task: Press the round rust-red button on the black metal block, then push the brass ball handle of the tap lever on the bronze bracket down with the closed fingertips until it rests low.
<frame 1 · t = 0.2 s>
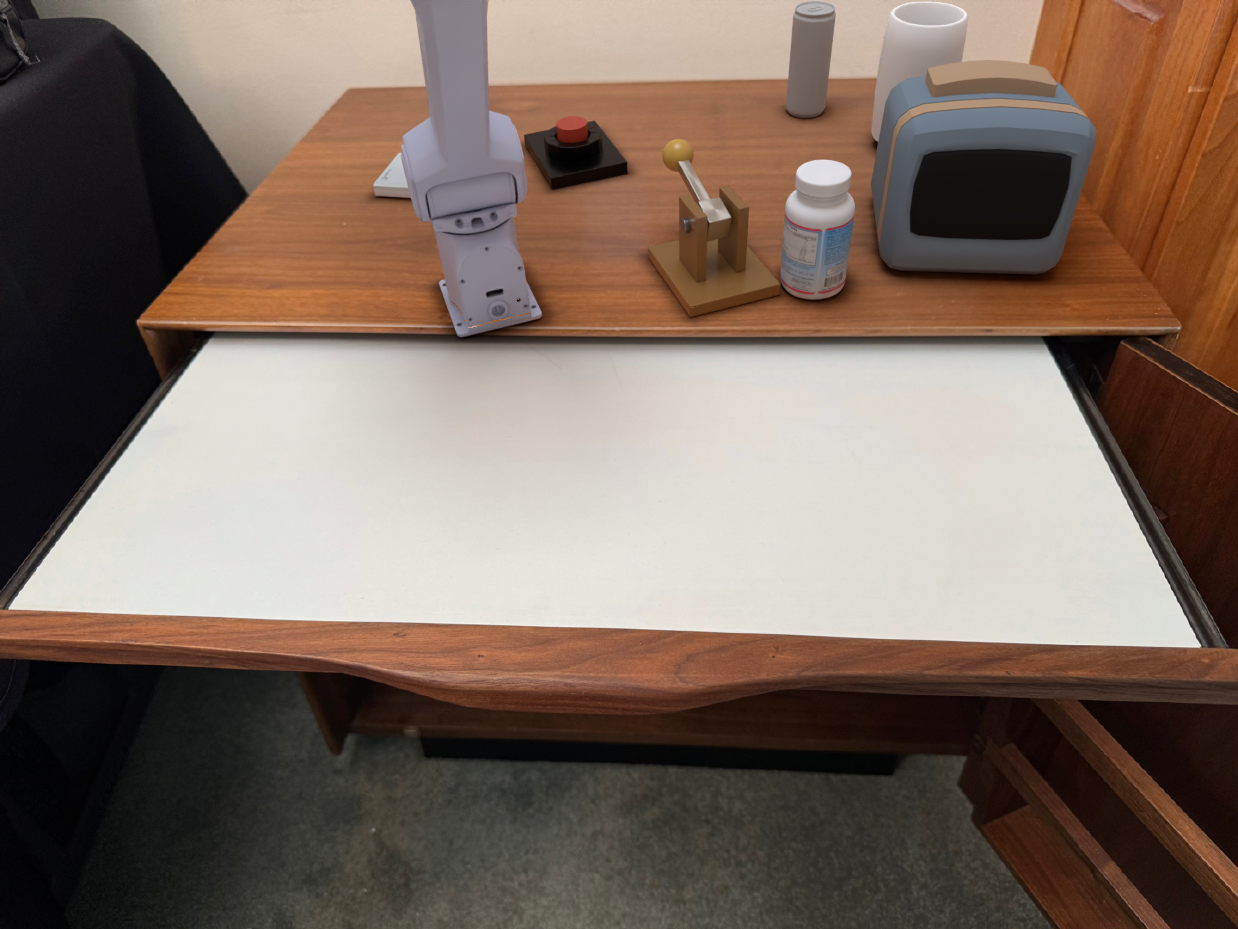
button: (572, 129, 101), point 4 cm above the table, slide at 0.1 cm
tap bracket: (711, 275, 85), on the table
beverage can: (805, 112, 109), on the table
hard drive: (439, 184, 101), on the table
pill bottle: (811, 285, 83), on the table
tap lever: (694, 186, 83), point 7 cm above the table, hinge at 15.0°
button block: (574, 159, 103), on the table
cup: (904, 146, 102), on the table
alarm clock: (955, 236, 88), on the table
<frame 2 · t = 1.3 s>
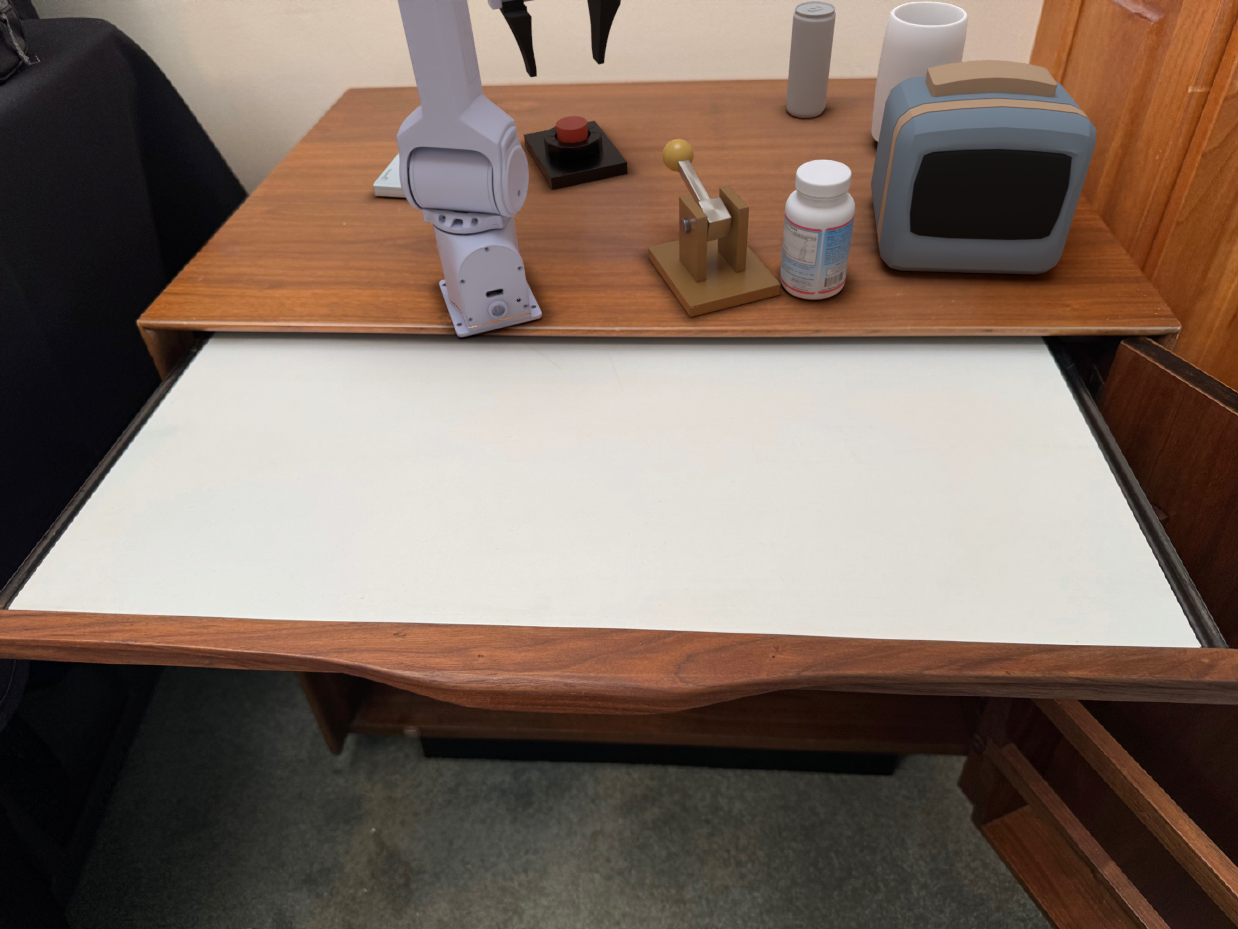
hand: (565, 67, 96), 11 cm above the table, tool pointing down, fingers open, 7 cm apart
nothing on the table moved.
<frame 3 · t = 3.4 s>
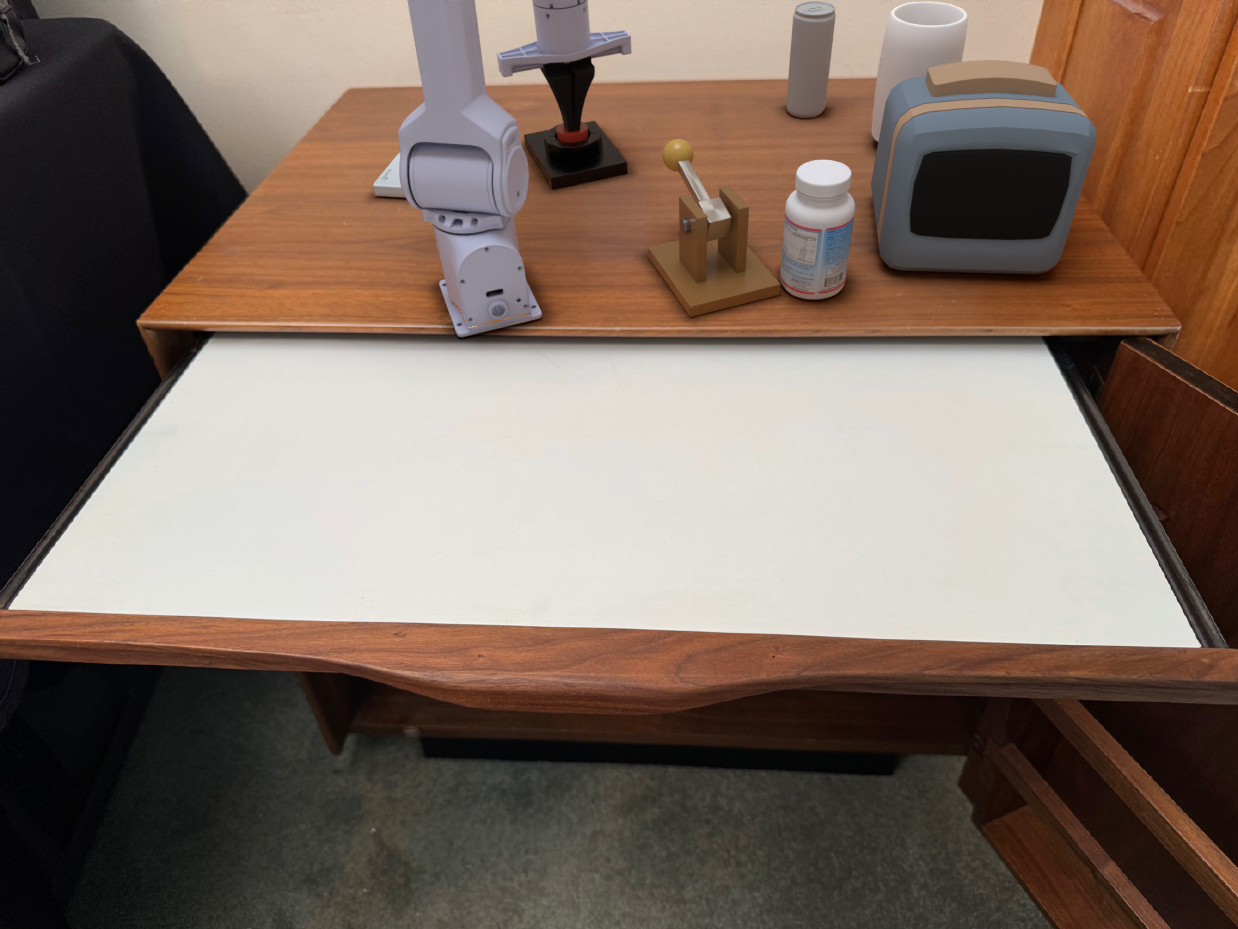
hand: (572, 127, 101), 4 cm above the table, tool pointing down, fingers closed, pressing on button
button: (572, 134, 101), point 3 cm above the table, slide at -0.5 cm, touching gripper
everything else where it was.
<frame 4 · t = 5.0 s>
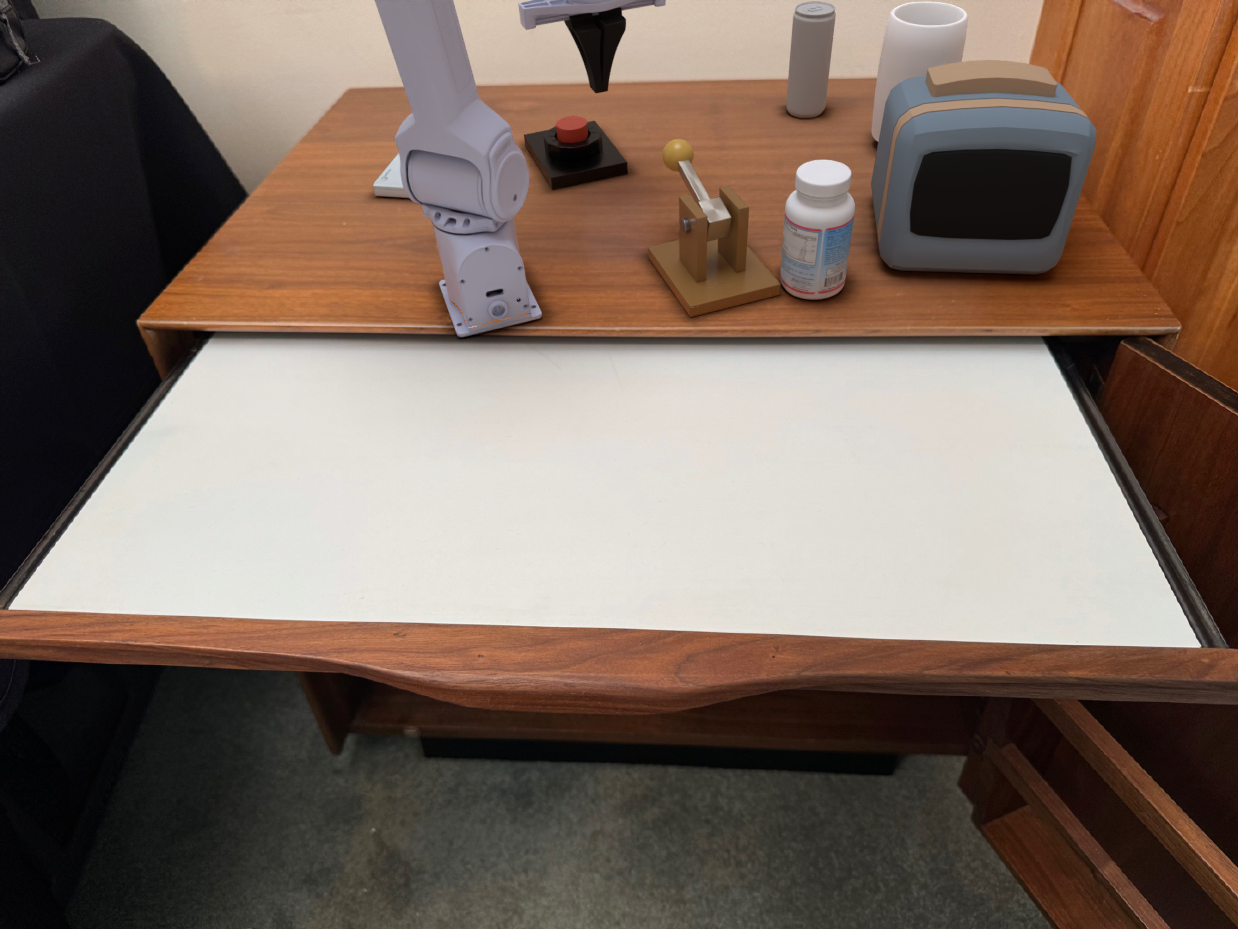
hand: (598, 88, 92), 10 cm above the table, tool pointing down, fingers closed
button: (572, 129, 101), point 4 cm above the table, slide at 0.1 cm
everything else where it was.
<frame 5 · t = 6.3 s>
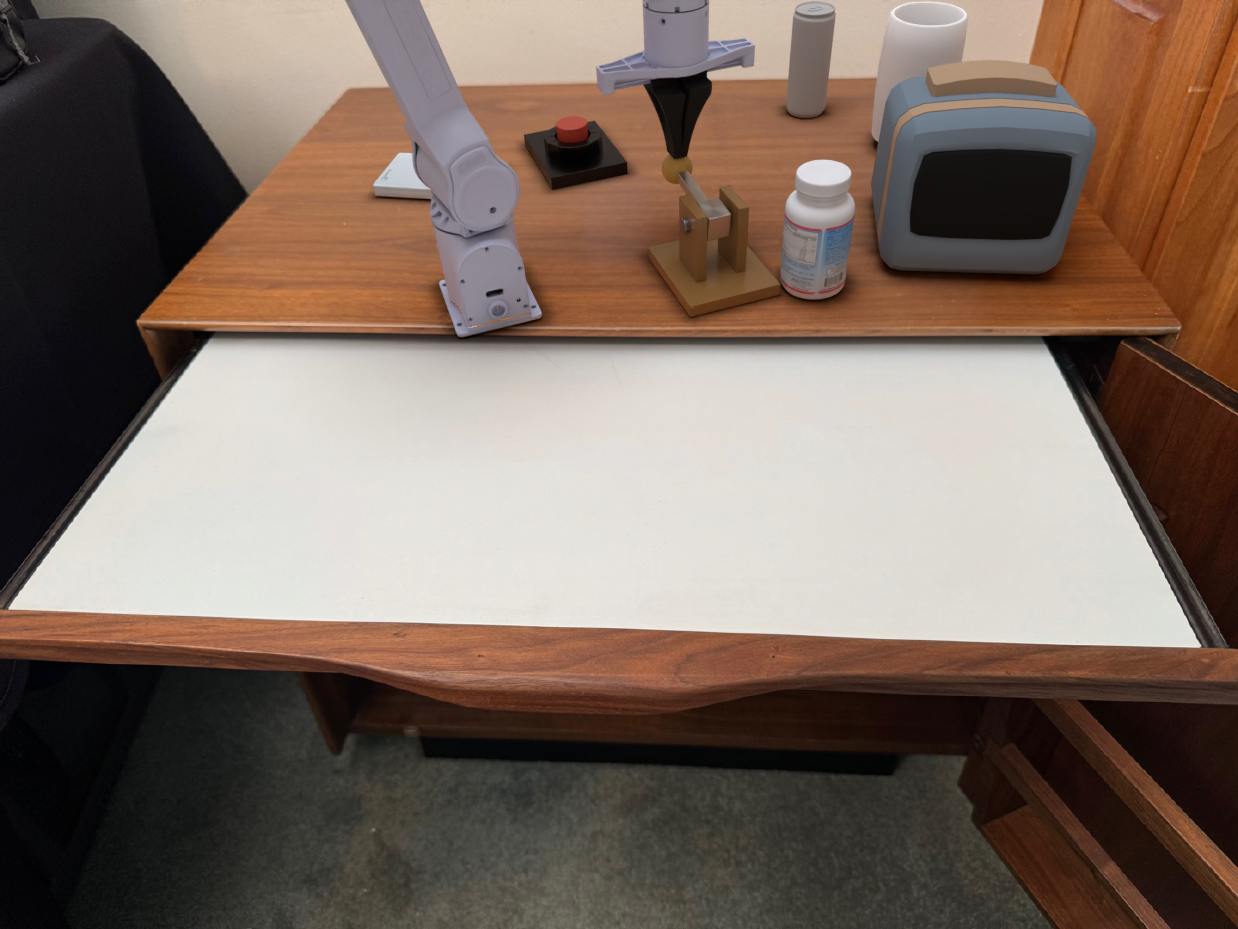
hand: (677, 153, 85), 8 cm above the table, tool pointing down, fingers closed, pressing on tap lever
tap lever: (694, 192, 83), point 6 cm above the table, hinge at 5.8°, touching gripper
everything else where it was.
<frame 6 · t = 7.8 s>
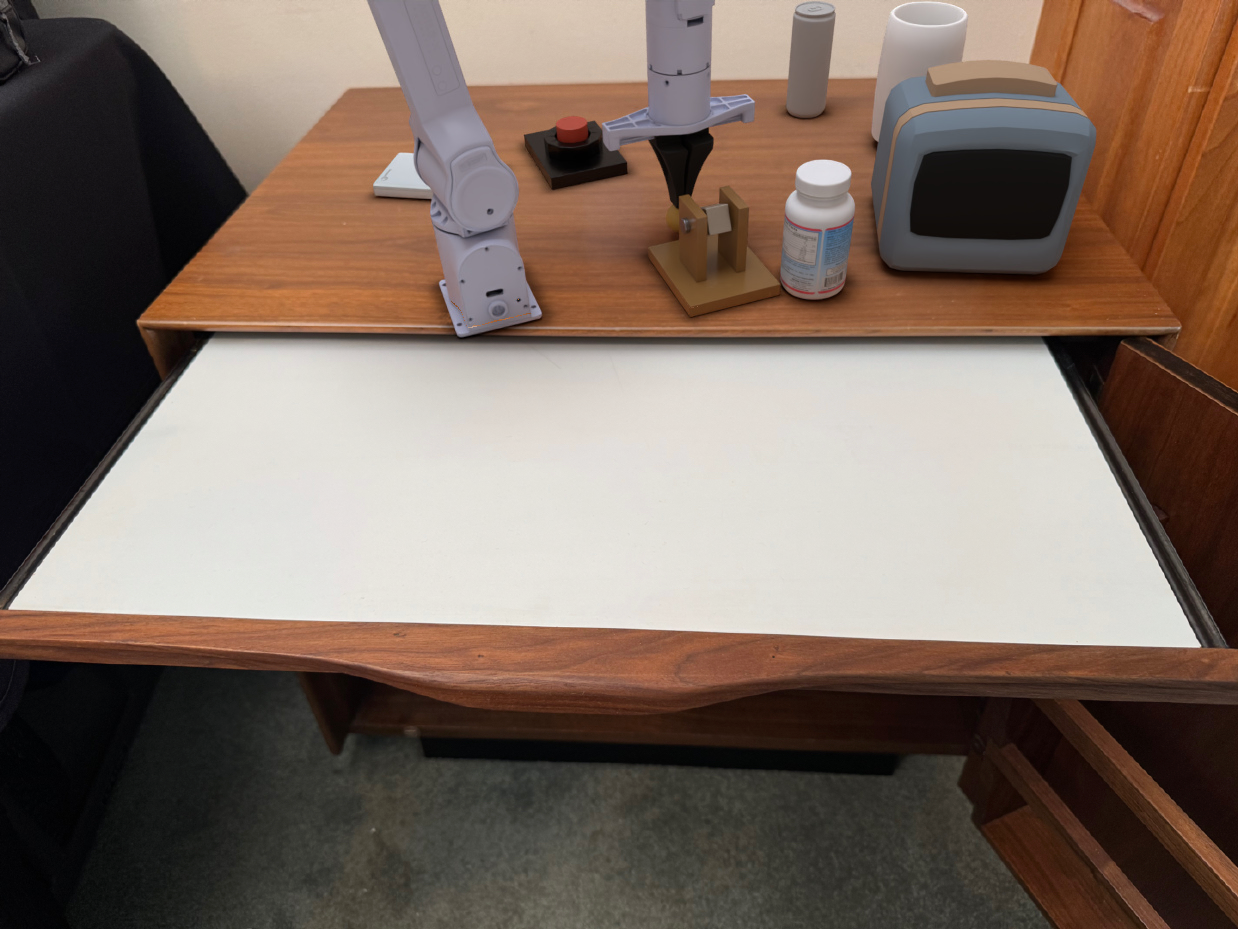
hand: (679, 202, 88), 4 cm above the table, tool pointing down, fingers closed, pressing on tap lever
tap lever: (695, 218, 85), point 4 cm above the table, hinge at -26.1°, touching gripper
everything else where it was.
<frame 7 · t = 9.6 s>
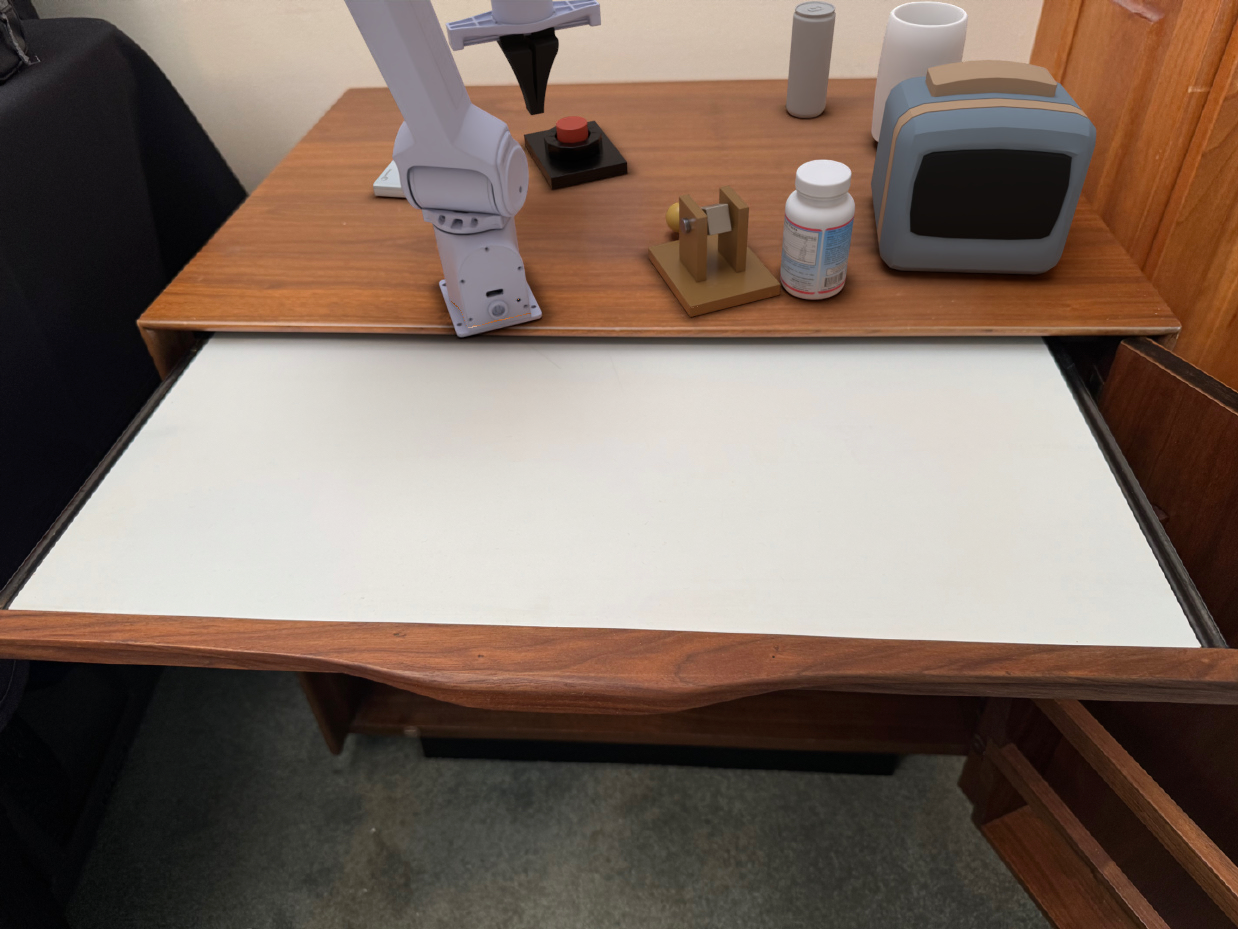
hand: (535, 110, 89), 10 cm above the table, tool pointing down, fingers closed
tap lever: (695, 218, 85), point 4 cm above the table, hinge at -26.1°
everything else where it was.
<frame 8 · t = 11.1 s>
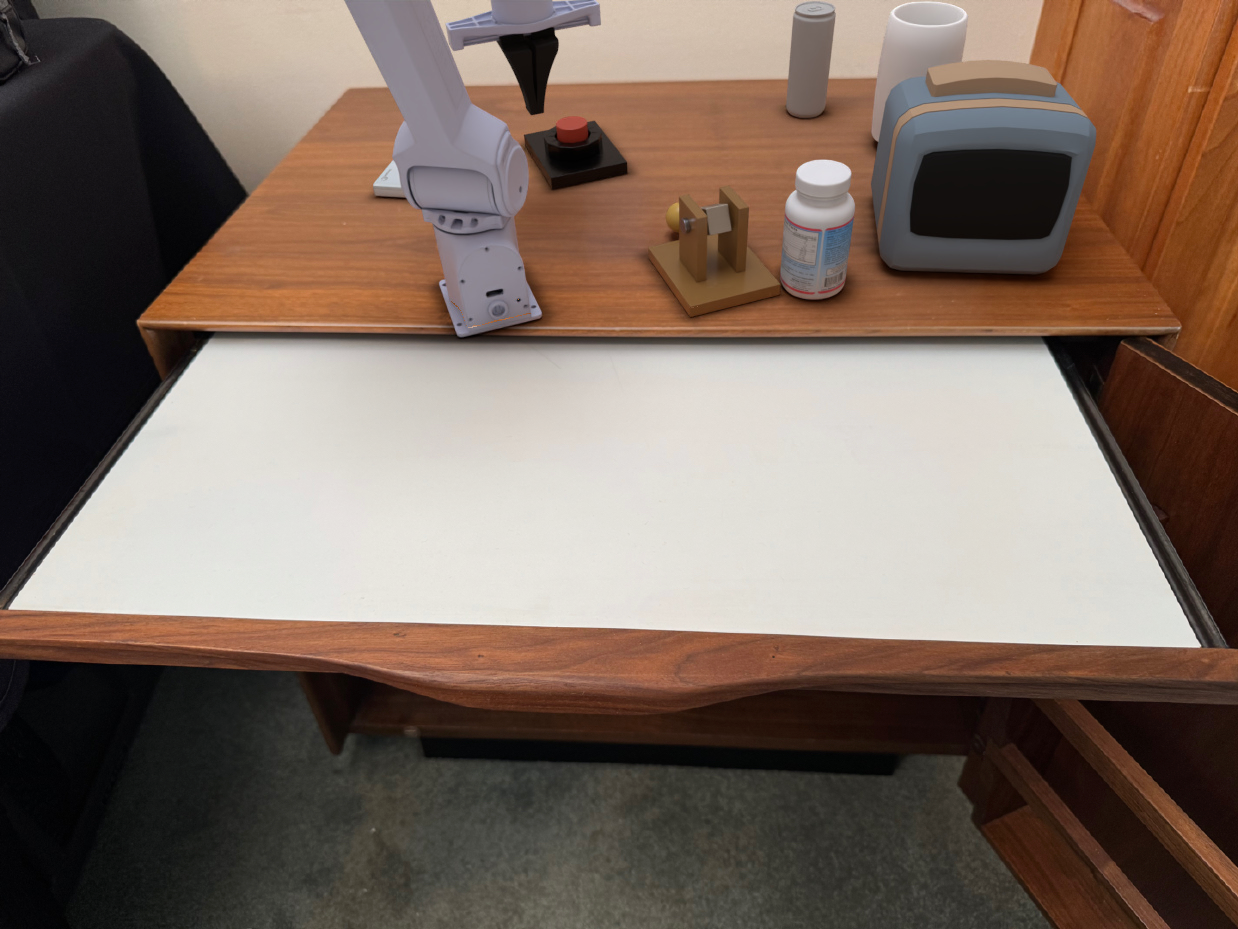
hand: (535, 110, 89), 10 cm above the table, tool pointing down, fingers closed
nothing on the table moved.
at the end: button pushed in 1.0 cm at the most during the clip, back to where it started at the end; button slide at 0.1 cm; tap lever at -26° (first picture: +15°) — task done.
